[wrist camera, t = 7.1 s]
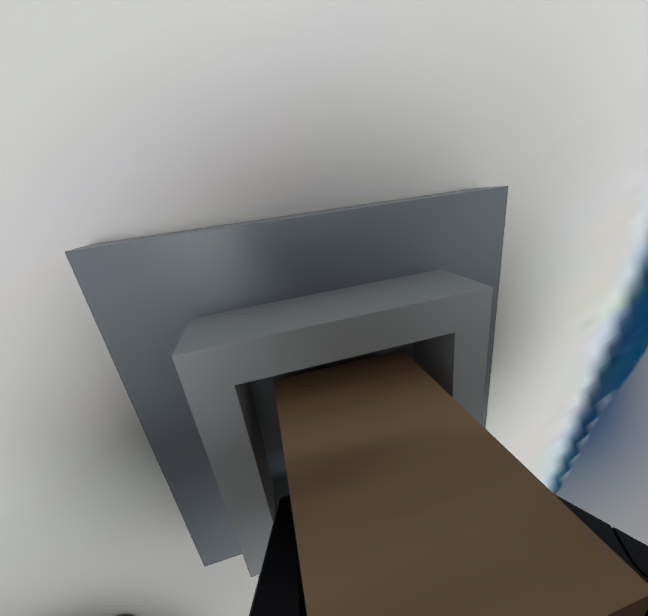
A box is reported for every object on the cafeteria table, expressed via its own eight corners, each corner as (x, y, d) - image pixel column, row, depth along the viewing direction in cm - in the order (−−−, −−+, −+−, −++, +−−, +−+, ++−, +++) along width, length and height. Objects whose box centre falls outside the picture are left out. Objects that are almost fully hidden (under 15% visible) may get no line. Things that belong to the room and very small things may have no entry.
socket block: (462, 450, 17) (521, 519, 13) (208, 531, 14) (195, 643, 11) (477, 187, 12) (580, 182, 8) (91, 244, 9) (-9, 272, 6)
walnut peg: (405, 447, 12) (588, 731, 6) (295, 481, 11) (360, 858, 5) (402, 349, 10) (655, 590, 4) (273, 380, 10) (326, 749, 3)
